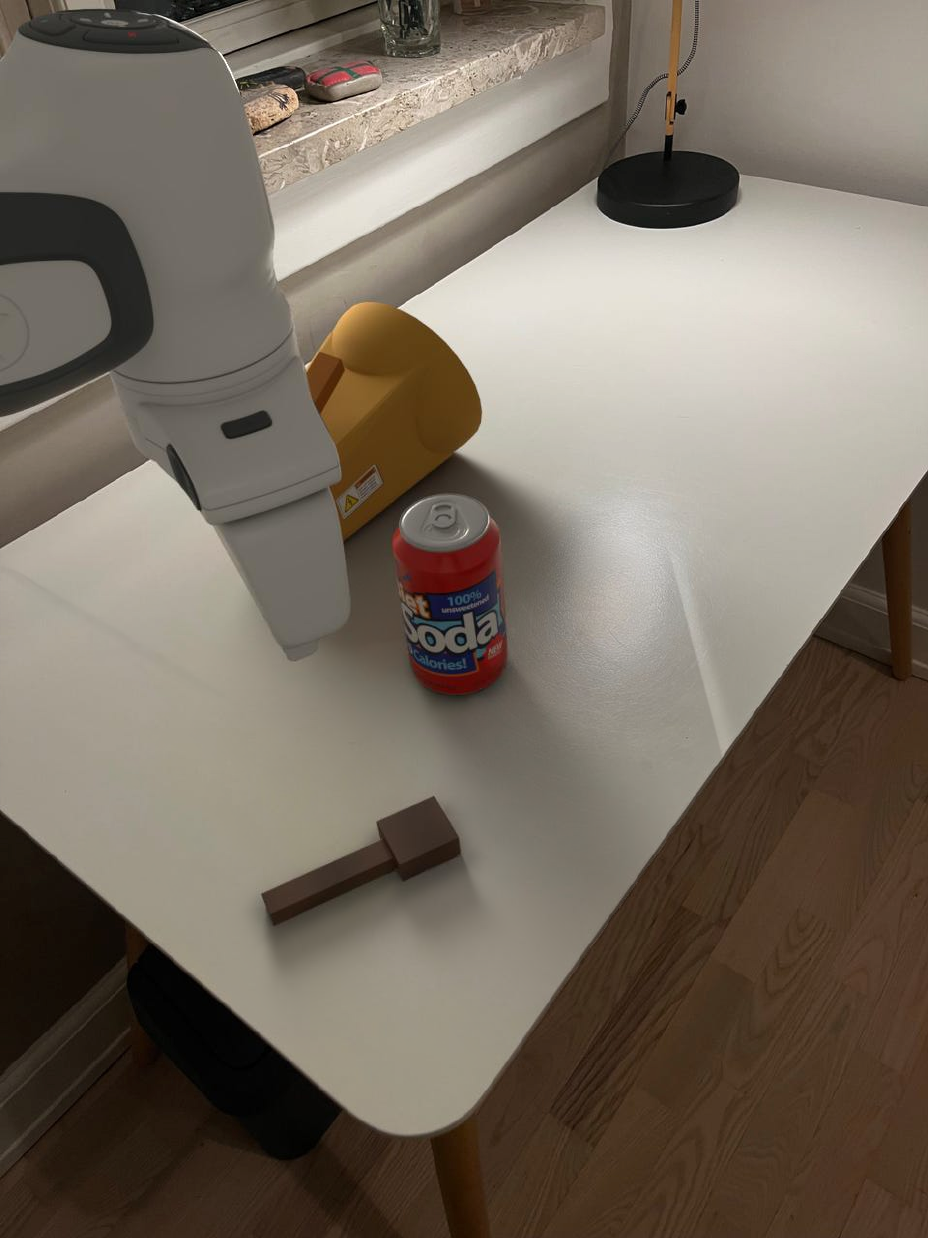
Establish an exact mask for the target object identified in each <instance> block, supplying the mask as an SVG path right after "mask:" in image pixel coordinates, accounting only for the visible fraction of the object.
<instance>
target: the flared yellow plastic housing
mask: <svg viewBox="0 0 928 1238" xmlns="http://www.w3.org/2000/svg"><path fill="white" fill-rule="evenodd" d="M305 369H306V373H307V378H308V383H309V388H310V393H311V398H312V399H313V400H314V402H315V404H316V406H317V408H318V411H319V413H320V415H321V417H322V419H323V421H324V423H325V425H326V427H327V429H328V431H329V433H330V435H331V438H332V440H333V442H334V444H335V446H336V449H337V452H338V456H339V461H340V467H341V480H340V481H339V482H338V483H336V484H333V485H331V486H329V489H330V491H331V493H332V496H333V499H334V502H335V506H336V509H337V513H338V517H339V522H340V527H341V533H342V539H343V542H344V541H346V540H347V539H348V538H350V537H352V535H354V534H355V533H356V532H357V531H358V530H360V529H361V528H363V526H364V525H366V524H367V523H368V522H370V521H371V520H372V519H374V518H375V517H376V516H378V514H380V513H381V512H382V511H383V510H385V509H387V508H388V507H389V506H390V505H391V504H392V503H393V502H395V501H396V500H398V499H399V498H400V497H402V495H403V494H405V493H406V492H407V491H409V490H410V489H412V487H414V486H415V485H416V484H417V483H419V482H420V481H421V480H422V479H425V477H427V476H428V475H429V474H430V473H431V472H432V471H434V470H435V469H436V468H438V467H439V466H440V465H441V464H442V463H444V462H446V460H448V459H449V458H450V457H451V456H452V455H453V454H454V452H457V451H458V450H459V449H460V448H462V447H464V446H465V444H466V443H468V442H469V440H471V438H472V437H474V436H475V435H476V433H478V431H479V428H480V426H481V424H482V419H483V407H482V402H481V398H480V395H479V391H478V389H477V385H476V384H475V381H474V380H473V378H472V376H471V374H470V372H469V370H468V369H467V367H466V366H465V364H464V363H463V362H462V360H461V358H460V357H459V356H458V355H457V353H456V352H455V351H454V350H453V349H452V348H451V346H449V344H448V343H447V342H446V340H444V339H443V338H442V337H441V336H440V335H439V334H438V333H437V332H435V331H434V330H433V329H432V328H431V327H429V326H428V325H426V324H425V323H424V322H423V321H421V320H420V319H418V318H417V317H416V316H413V315H411V314H410V313H408V312H406V311H404V310H403V309H400V308H398V307H395V306H393V305H390V304H387V303H382V302H377V301H363V302H360V303H357V304H353V305H352V306H351V307H350V308H349V309H347V310H346V311H345V313H344V314H343V315H342V316H341V317H340V318H339V320H338V321H337V323H336V325H335V327H334V329H333V330H332V332H330V333H328V336H327V337H326V338H325V340H324V341H323V343H322V344H321V346H320V347H319V349H318V351H317V352H316V354H315V355H314V357H312V359H311V361H310V362H309V364H308V365H307V367H306V368H305Z"/></svg>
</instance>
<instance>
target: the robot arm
mask: <svg viewBox="0 0 928 1238" xmlns="http://www.w3.org/2000/svg"><path fill="white" fill-rule="evenodd" d="M266 185H267V184H266V180H265V178H264V173H263V168H262V165H261V161H260V157H259V153H258V149H257V146H256V142H255V137H254V134H253V131H252V127H251V124H250V121H249V117H248V114H247V111H246V108H245V105H244V101H243V98H242V96H241V93H240V90H239V88H238V85H237V83H236V80H235V78H234V75H233V73H232V71H231V69H230V67H229V65H228V63H227V61H226V59H225V58H224V56H223V55H222V53H221V52H220V51H219V50H218V49H217V48H215V47H214V46H213V45H212V44H210V42H209V41H208V40H207V39H206V38H204V37H203V36H202V35H200V34H199V33H198V32H195V31H194V30H193V29H190V28H189V27H187V26H185V25H183V24H181V23H180V22H177V21H175V20H173V19H171V18H168V17H165V16H162V15H159V14H154V13H153V14H149V13H143V12H140V11H138V10H130V9H129V10H128V9H118V8H117V9H116V8H101V7H98V8H95V7H94V8H93V7H92V8H71V9H70V8H69V9H63V10H58V11H56V12H53V13H45V14H40V15H37V16H35V17H34V18H32V19H30V20H28V21H25V22H23V23H22V24H20V26H19V27H18V28H17V30H16V31H15V34H14V36H13V39H12V41H11V43H10V45H9V47H8V49H7V50H6V52H5V53H4V55H2V57H1V59H0V418H4V417H8V416H11V415H15V414H18V413H21V412H24V411H27V410H28V409H31V408H33V407H36V406H38V405H41V404H43V403H45V402H48V401H51V400H53V399H55V398H57V397H59V396H62V395H63V394H66V393H68V392H70V391H73V390H75V389H76V388H79V387H81V386H83V385H85V384H87V383H89V382H92V381H94V380H95V379H97V378H100V377H101V376H104V375H106V374H108V373H109V377H110V379H111V381H112V384H113V388H114V391H115V394H116V396H117V399H118V402H119V406H120V408H121V412H122V414H123V416H124V420H125V423H126V425H127V428H128V431H129V435H130V437H131V440H132V442H133V444H134V446H135V448H136V449H137V450H138V451H139V452H140V454H142V455H143V456H144V457H146V458H147V459H149V460H151V461H153V462H154V463H156V464H157V466H159V467H160V468H161V470H162V471H163V472H165V473H166V474H167V475H168V476H169V477H170V478H171V479H172V480H174V482H176V483H177V484H178V485H179V487H180V488H181V489H182V490H183V492H184V493H185V494H186V495H187V496H188V498H189V499H190V501H191V502H192V504H193V506H194V507H195V509H196V510H197V511H199V512H200V514H201V516H202V518H203V519H204V521H205V522H206V523H207V524H208V525H210V526H212V528H213V529H214V531H215V533H216V535H217V537H218V538H219V540H220V542H221V544H222V546H223V547H224V549H225V551H226V553H227V555H228V557H229V558H230V560H231V562H232V563H233V566H234V567H235V569H236V571H237V573H238V574H239V577H240V578H241V580H242V582H243V584H244V585H245V588H246V589H247V591H248V593H249V595H250V596H251V599H252V600H253V602H254V604H255V605H256V607H257V609H258V610H259V613H260V614H261V617H262V618H263V619H264V621H265V623H266V625H267V627H268V629H269V631H270V634H271V635H272V637H273V639H274V640H275V642H276V644H277V645H278V646H279V647H280V648H281V649H282V651H283V653H284V654H285V656H286V658H287V660H288V661H290V662H298V661H300V660H302V659H305V658H308V657H311V656H312V655H314V654H316V652H318V650H319V647H320V646H319V642H318V641H319V640H321V639H323V638H326V637H328V636H329V635H332V634H335V633H337V632H338V631H340V630H342V629H343V628H344V627H345V626H346V625H347V623H348V621H349V619H350V615H351V595H350V586H349V578H348V567H347V561H346V554H345V546H344V541H343V539H342V533H341V527H340V522H339V517H338V513H337V509H336V506H335V502H334V499H333V496H332V493H331V491H330V489H329V486H331V485H333V484H336V483H338V482H339V481H340V480H341V467H340V461H339V456H338V452H337V449H336V446H335V444H334V442H333V440H332V438H331V435H330V433H329V431H328V429H327V427H326V425H325V423H324V421H323V419H322V417H321V415H320V413H319V411H318V408H317V406H316V404H315V402H314V400H313V399H312V398H311V393H310V388H309V383H308V378H307V373H306V369H307V368H306V364H305V363H304V360H303V358H302V355H301V352H300V351H301V350H300V345H299V340H298V336H297V332H296V326H295V322H294V317H293V313H292V309H291V306H290V303H289V301H288V299H287V297H286V294H284V291H283V290H282V288H281V285H280V284H279V282H278V278H277V276H276V275H277V274H276V271H275V266H274V248H275V241H276V239H275V236H276V235H275V223H274V222H275V221H274V216H273V212H272V209H271V204H270V199H269V194H268V189H267V186H266Z"/></svg>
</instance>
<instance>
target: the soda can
mask: <svg viewBox="0 0 928 1238" xmlns="http://www.w3.org/2000/svg"><path fill="white" fill-rule="evenodd" d="M502 553H503V551H502V537H501V532H500V528H499V526H498V524H497V523H496V521H495V520H494V519H493V518H492V517H491V515H490V513H489V510H488V508H487V507H486V506H485V505H484V504H483V503H482V502H481V501H479V499H476V498H474V497H472V496H469V495H465V494H462V493H461V494H460V493H453V492H451V493H447V492H446V493H437V494H432V495H429V496H425V497H423V498H420V499H418V500H416V501H414V502H413V503H412V504H409V506H408V507H406V508H405V510H404V511H403V512H402V514H401V516H400V518H399V522H398V526H397V528H396V530H395V532H394V534H393V537H392V554H393V555H392V556H393V561H394V568H395V574H396V581H397V587H398V595H399V600H400V607H401V613H402V620H403V626H404V632H405V639H406V645H407V646H406V647H407V653H408V659H409V664H410V668H411V671H412V673H413V675H414V677H415V678H416V680H417V681H418V682H419V683H420V684H421V685H422V686H424V687H426V688H427V689H429V690H431V691H434V692H436V693H439V694H442V695H443V694H444V695H452V696H453V695H454V696H459V695H460V696H461V695H469V694H473V693H476V692H478V691H481V690H483V689H485V688H487V687H489V686H491V685H492V684H493V683H494V682H495V681H497V680H498V679H499V678H500V677H501V675H502V674H503V672H504V671H505V668H506V666H507V664H508V663H507V662H508V636H507V620H506V604H505V585H504V583H505V582H504V568H503V567H504V566H503V554H502Z"/></svg>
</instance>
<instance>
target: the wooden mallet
mask: <svg viewBox="0 0 928 1238" xmlns="http://www.w3.org/2000/svg"><path fill="white" fill-rule="evenodd" d="M375 822H376V826H377V832H378V836H379V840H376V841H374V842H372V843H370V844H367V845H365V846H363V847H360V848H358V849H357V850H354V851H352V852H350V853H348V854H345V855H343V856H341V857H338V858H337V859H334V860H332V861H330V862H328V863H326V864H323V865H321V866H318V867H317V868H313V869H311V870H310V871H308V872H306V873H303V874H300V875H299V876H297V877H293V878H292V879H290V880H288V881H286V882H284V883H281V884H279V885H277V886H274V887H273V888H269V889H268V890H266V891H264V892H261V894H260V895H261V898H262V901H263V903H264V906H265V908H266V911H267V913H268V916H269V919H270V921H271V924H272V926H276V925H279V924H281V923H283V922H285V921H288V920H289V919H291V918H293V917H296V916H298V915H300V914H302V913H304V912H307V911H309V910H311V909H313V908H315V907H317V906H319V905H322V904H324V903H326V902H329V901H331V900H333V899H334V898H335V899H336V898H337V897H339V896H341V895H344V894H345V893H348V892H350V891H352V890H354V889H357V888H359V887H361V886H363V885H365V884H367V883H369V882H372V881H373V880H376V879H379V878H380V877H383V876H385V875H387V874H389V873H391V872H394V871H395V870H396V871H397V874H398V875H399V877H400V879H401V881H402V882H405V881H407V880H409V879H412V878H413V877H415V876H417V875H419V874H423V873H424V872H427V871H428V870H430V869H432V868H435V867H437V866H439V865H441V864H443V863H446V862H448V861H451V860H452V859H454V858H456V857H458V856H460V855H462V850H461V842H460V837H459V835H458V833H457V832H456V830H455V828H454V827H453V825H452V823H451V822H450V820H449V818H448V817H447V815H446V813H445V812H444V810H443V808H442V807H441V804H440V803H439V801H438V800H437V799H436V797H435V796H434V795H432V796H430V797H428V798H425V799H422V800H421V801H419V802H416V803H414V804H412V805H410V806H407V807H405V808H403V809H400V810H398V811H396V812H394V813H392V814H390V815H387V816H384V817H383V818H381V819H377V820H376V821H375Z"/></svg>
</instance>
